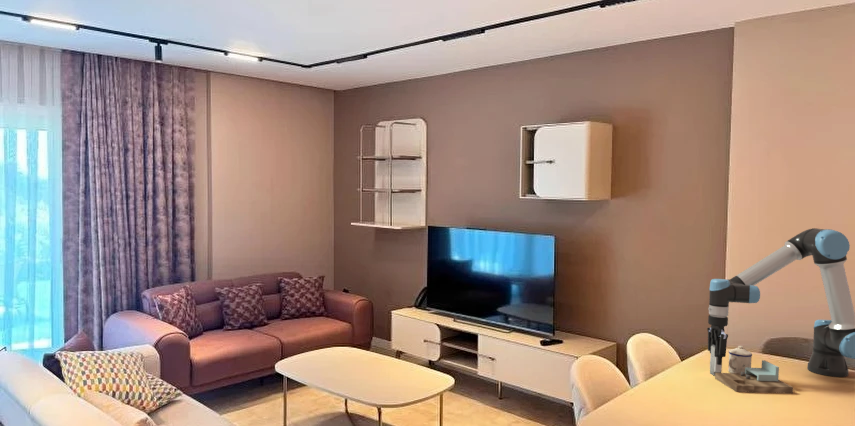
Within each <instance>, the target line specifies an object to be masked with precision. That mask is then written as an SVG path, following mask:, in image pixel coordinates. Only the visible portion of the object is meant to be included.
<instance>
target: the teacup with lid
mask: <svg viewBox="0 0 855 426" xmlns="http://www.w3.org/2000/svg"><path fill="white" fill-rule="evenodd" d="M752 357H753V353H752V352H751V351H749V350H747V349H746V348H744V346H743V345H737V347H735V348H733V349H732V348H731V349H729V350H728V370H727V371H728V373H741V372H745V367H747V368H752Z"/></svg>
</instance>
